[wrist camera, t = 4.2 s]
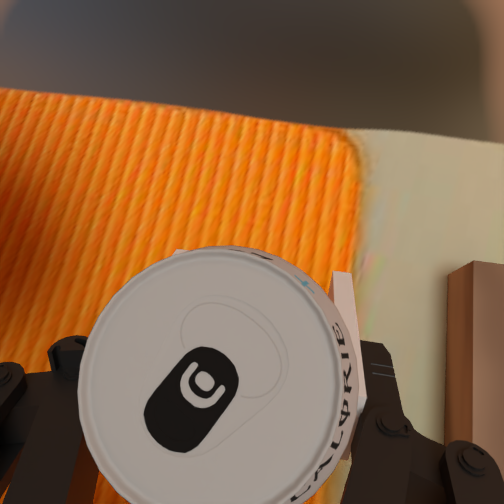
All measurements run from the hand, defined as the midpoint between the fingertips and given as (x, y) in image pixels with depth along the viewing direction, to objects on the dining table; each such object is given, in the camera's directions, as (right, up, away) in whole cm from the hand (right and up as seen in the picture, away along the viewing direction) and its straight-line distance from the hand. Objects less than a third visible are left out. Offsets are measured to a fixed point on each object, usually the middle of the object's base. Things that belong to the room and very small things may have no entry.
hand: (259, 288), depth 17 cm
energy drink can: (0, -5, +4) cm, 7 cm away
